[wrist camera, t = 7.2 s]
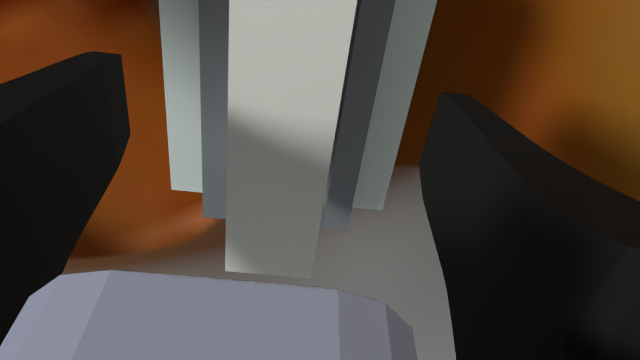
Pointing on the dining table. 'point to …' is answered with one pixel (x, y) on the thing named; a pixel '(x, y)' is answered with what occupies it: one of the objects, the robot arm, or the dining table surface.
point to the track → (354, 112)
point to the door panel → (281, 128)
